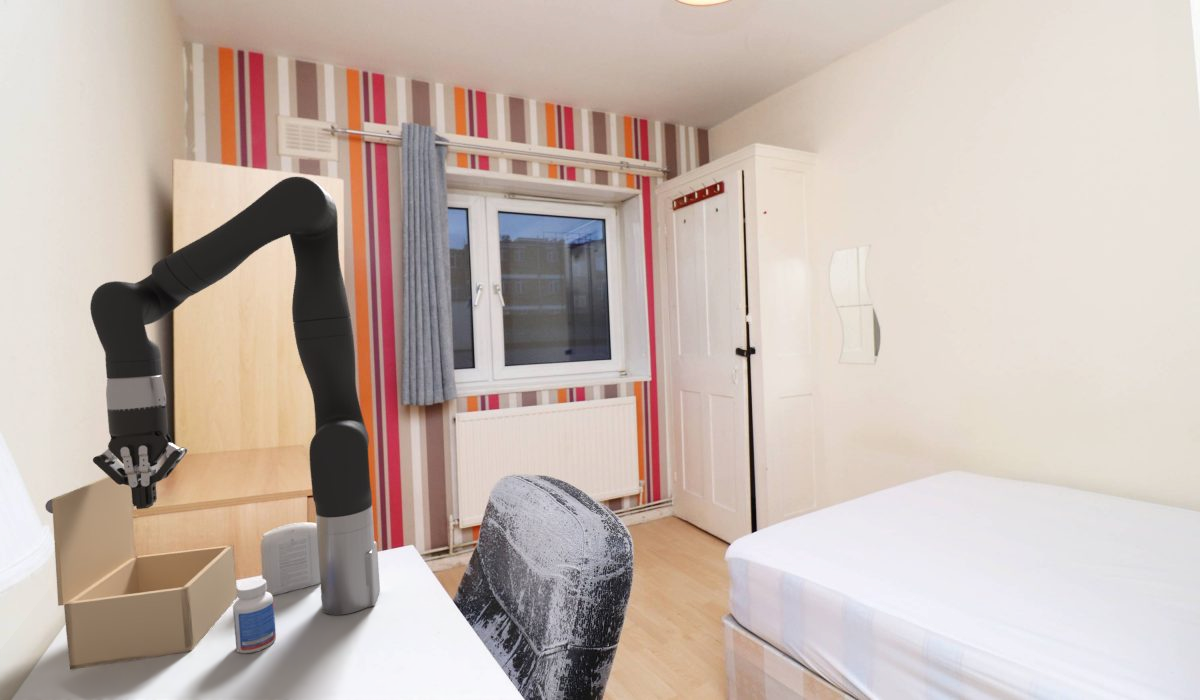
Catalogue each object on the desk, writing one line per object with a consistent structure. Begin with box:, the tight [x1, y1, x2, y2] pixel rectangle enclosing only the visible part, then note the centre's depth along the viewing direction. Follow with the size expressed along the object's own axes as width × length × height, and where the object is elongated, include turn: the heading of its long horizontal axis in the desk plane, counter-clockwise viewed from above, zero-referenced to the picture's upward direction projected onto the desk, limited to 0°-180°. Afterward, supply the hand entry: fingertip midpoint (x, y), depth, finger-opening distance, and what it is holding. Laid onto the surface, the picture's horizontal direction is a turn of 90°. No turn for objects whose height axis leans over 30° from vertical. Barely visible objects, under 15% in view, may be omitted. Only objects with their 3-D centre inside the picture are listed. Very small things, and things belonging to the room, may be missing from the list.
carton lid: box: [44, 475, 136, 606], centre depth 91 cm, size 16×18×6 cm
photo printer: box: [260, 521, 321, 596], centre depth 108 cm, size 10×4×12 cm, turn 123°
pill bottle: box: [232, 578, 277, 654], centre depth 88 cm, size 6×5×10 cm
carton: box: [63, 544, 238, 670], centre depth 94 cm, size 16×18×10 cm
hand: (145, 507), depth 93 cm, fingers closed
